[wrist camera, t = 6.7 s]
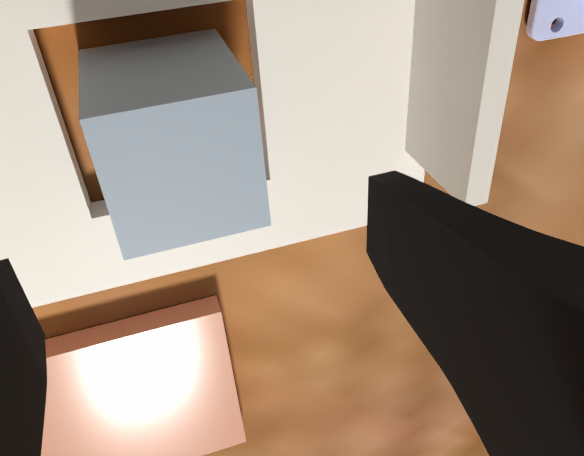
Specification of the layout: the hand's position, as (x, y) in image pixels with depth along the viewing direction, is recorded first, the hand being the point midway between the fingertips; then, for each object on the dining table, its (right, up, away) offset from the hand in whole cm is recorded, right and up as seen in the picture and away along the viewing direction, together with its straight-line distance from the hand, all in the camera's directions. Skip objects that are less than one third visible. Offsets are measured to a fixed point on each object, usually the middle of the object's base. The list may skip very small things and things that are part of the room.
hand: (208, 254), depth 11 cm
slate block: (-2, +5, +6) cm, 8 cm away
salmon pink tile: (-5, -7, +13) cm, 16 cm away
